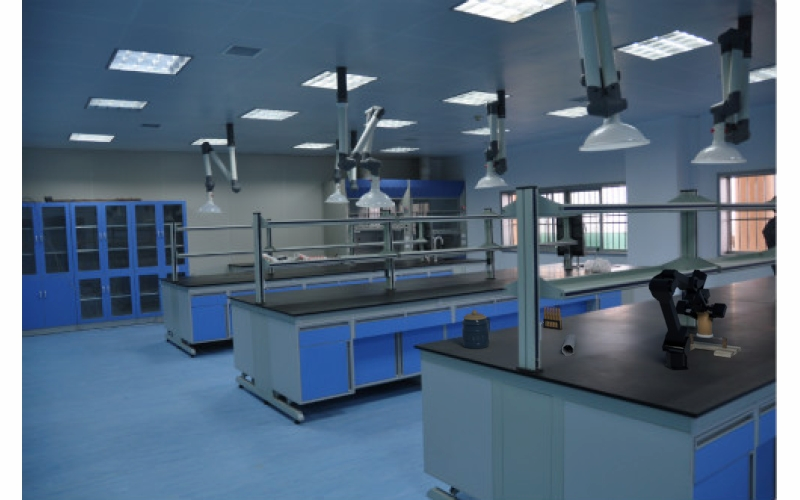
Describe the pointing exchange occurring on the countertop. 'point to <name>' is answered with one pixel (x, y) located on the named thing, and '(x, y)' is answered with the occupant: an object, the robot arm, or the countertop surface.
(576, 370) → the countertop surface
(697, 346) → the grey piece
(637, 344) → the countertop surface
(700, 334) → the lidded paper cup
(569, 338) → the tube
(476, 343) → the canister
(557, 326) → the ammunition clip
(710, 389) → the countertop surface
